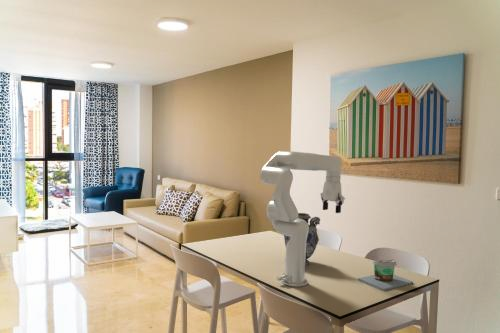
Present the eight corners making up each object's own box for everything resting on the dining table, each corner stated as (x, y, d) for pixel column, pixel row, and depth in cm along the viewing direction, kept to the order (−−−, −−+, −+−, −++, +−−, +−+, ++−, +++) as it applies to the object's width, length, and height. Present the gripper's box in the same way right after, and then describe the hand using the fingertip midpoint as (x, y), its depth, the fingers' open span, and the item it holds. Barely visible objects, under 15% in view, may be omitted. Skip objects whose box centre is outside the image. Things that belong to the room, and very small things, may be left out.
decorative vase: (275, 263, 225) (278, 213, 224) (288, 255, 242) (291, 209, 240) (312, 270, 215) (315, 218, 214) (322, 262, 232) (325, 214, 230)
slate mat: (383, 291, 189) (383, 288, 189) (357, 280, 202) (357, 278, 202) (413, 283, 200) (413, 281, 200) (386, 273, 214) (387, 272, 214)
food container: (379, 283, 196) (380, 263, 195) (372, 279, 202) (373, 259, 201) (400, 281, 200) (401, 261, 199) (392, 277, 206) (393, 258, 205)
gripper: (316, 177, 218) (315, 209, 219) (339, 181, 203) (337, 214, 204) (327, 177, 222) (325, 208, 223) (350, 180, 207) (348, 213, 208)
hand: (331, 211), depth 214 cm, fingers open, 9 cm apart
